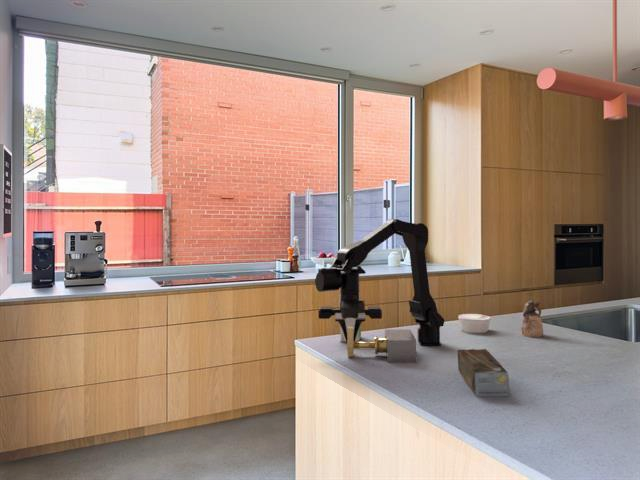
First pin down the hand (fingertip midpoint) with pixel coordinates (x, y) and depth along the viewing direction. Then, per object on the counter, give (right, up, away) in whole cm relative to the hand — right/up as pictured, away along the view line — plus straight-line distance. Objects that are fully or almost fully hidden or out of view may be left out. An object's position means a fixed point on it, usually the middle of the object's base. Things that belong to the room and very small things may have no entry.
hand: (350, 340), depth 144 cm
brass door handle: (+6, -4, 0) cm, 8 cm away
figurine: (+65, -3, +22) cm, 68 cm away
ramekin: (+47, -3, +31) cm, 56 cm away
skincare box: (+1, -4, +21) cm, 22 cm away
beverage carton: (+31, -5, -26) cm, 41 cm away
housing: (+15, -4, -1) cm, 15 cm away
